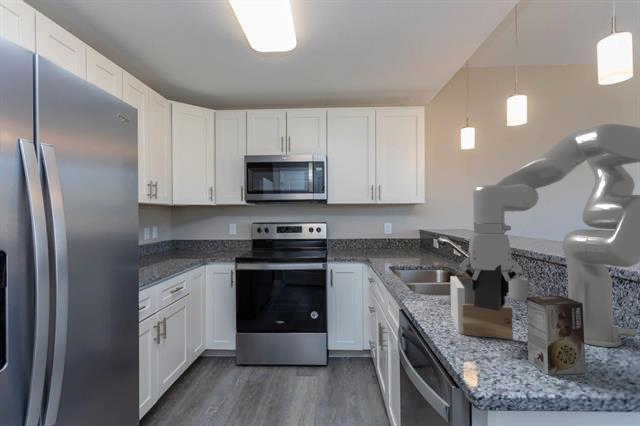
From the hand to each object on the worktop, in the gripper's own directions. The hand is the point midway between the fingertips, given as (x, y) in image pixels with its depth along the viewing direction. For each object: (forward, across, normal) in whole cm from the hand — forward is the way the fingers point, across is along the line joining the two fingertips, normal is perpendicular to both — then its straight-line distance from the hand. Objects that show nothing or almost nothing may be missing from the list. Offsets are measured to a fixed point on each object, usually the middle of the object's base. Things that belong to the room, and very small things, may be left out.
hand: (490, 293), depth 82 cm
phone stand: (+3, 0, 0) cm, 3 cm away
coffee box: (+15, -12, +9) cm, 21 cm away
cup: (+14, -24, -53) cm, 60 cm away
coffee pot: (+15, -3, -30) cm, 34 cm away
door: (+14, 0, -6) cm, 15 cm away
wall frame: (+14, +6, -16) cm, 22 cm away
